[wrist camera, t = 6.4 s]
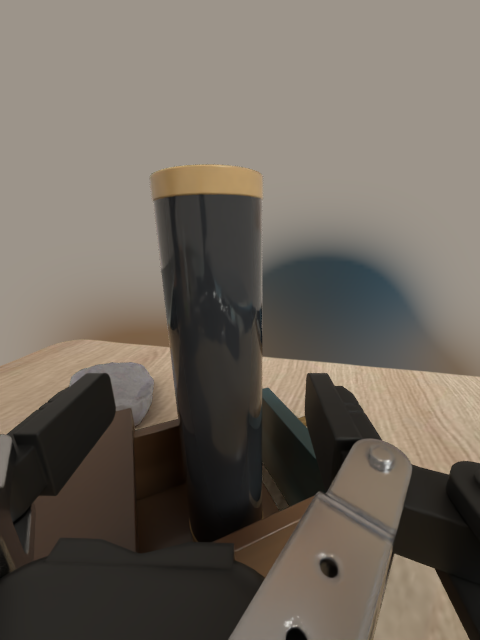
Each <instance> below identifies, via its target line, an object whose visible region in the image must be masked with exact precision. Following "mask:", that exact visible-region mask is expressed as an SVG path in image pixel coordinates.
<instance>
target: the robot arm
mask: <svg viewBox="0 0 480 640" xmlns="http://www.w3.org/2000/svg"><path fill="white" fill-rule="evenodd" d="M115 413H116V404H115V399H114V394H113V389H112V384H111V379H110V376H109V375H108V374H107V373H86V374H85V375H84V376H82V377H81V378H80V379H79V380H77V381H76V382H75V383H74V384H73V385H71V386H70V387H68V388H66V389H64V390H62V391H60V392H58V393H57V394H56V395H55V396H54V397H52V398H51V399H50V400H49V401H48V403H45V404H44V405H42V406H41V407H40V408H39V410H36V411H35V412H34V413H32V414H31V415H30V416H29V417H28V418H26V419H25V420H24V421H23V422H21V423H20V424H19V425H18V426H16V427H15V428H14V429H13V430H11V431H10V432H9V433H8V434H6V435H4V434H0V640H373V638H374V634H375V630H376V625H377V621H378V617H379V613H380V609H381V605H382V601H383V597H384V593H385V589H386V585H387V581H388V577H389V573H390V569H391V565H392V561H393V557H394V553H395V554H397V555H400V556H403V557H405V558H408V559H411V560H414V561H416V562H419V563H422V564H424V565H427V566H430V567H432V568H435V570H436V572H437V574H438V576H439V578H440V580H441V582H442V584H443V586H444V588H445V590H446V592H447V594H448V596H449V599H450V601H451V603H452V605H453V607H454V609H455V611H456V613H457V615H458V617H459V619H460V621H461V623H462V625H463V627H464V629H465V631H466V633H467V635H468V637H469V639H470V640H480V463H476V462H469V461H461V462H457V463H455V464H454V465H453V466H452V467H451V470H450V474H449V475H448V474H444V473H440V472H436V471H432V470H428V469H424V468H421V467H418V466H415V465H412V464H411V463H410V461H409V459H408V457H407V456H406V455H405V454H404V453H403V452H402V451H401V450H399V449H398V448H397V447H395V446H393V445H391V444H389V443H387V442H384V441H382V439H381V438H380V436H379V435H378V433H377V431H376V430H375V428H374V427H373V425H372V423H371V422H370V420H369V419H368V417H367V416H366V414H365V413H364V411H363V409H362V408H361V406H360V405H359V403H358V401H357V400H356V398H355V397H354V395H353V394H352V393H351V392H350V391H348V390H347V389H346V388H344V387H343V386H334V384H333V382H332V381H331V379H330V377H329V375H328V374H327V373H308V374H307V378H306V395H305V419H306V425H307V428H308V432H309V435H310V439H311V442H312V446H313V449H314V453H315V456H316V460H317V463H318V467H319V470H320V474H321V477H322V481H323V484H324V488H325V491H326V494H325V493H324V492H322V491H319V492H318V493H317V494H316V495H315V496H314V498H313V499H312V501H311V503H310V504H309V506H308V508H307V509H306V511H305V513H304V514H303V516H302V518H301V519H300V521H299V523H298V524H297V526H296V528H295V529H294V531H293V533H292V534H291V536H290V538H289V539H288V541H287V543H286V544H285V546H284V548H283V549H282V551H281V553H280V554H279V556H278V558H277V559H276V561H275V563H274V564H273V566H272V568H271V569H270V571H269V573H268V574H267V576H266V578H265V577H264V576H262V575H261V574H260V573H258V572H257V571H256V570H254V569H253V568H251V567H249V566H247V565H245V564H243V563H241V562H238V561H236V560H235V552H234V543H215V542H187V543H183V544H179V545H175V546H171V547H167V548H163V549H159V550H155V551H151V552H147V553H137V552H134V551H131V550H129V549H126V548H124V547H121V546H119V545H116V544H114V543H111V542H108V541H106V540H103V539H90V538H59V540H58V541H57V543H56V544H55V546H54V548H53V549H52V551H51V552H50V554H49V555H48V556H46V557H43V558H40V559H38V560H35V561H34V541H35V519H36V508H35V505H34V501H35V500H36V498H37V497H38V496H57V495H58V493H59V492H60V491H61V489H62V488H63V487H64V485H65V484H66V483H67V481H68V480H69V479H70V477H71V476H72V475H73V473H74V472H75V471H76V469H77V468H78V467H79V465H80V464H81V463H82V461H83V460H84V459H85V457H86V456H87V455H88V453H89V452H90V451H91V449H92V448H93V447H94V445H95V444H96V443H97V442H98V440H99V439H100V438H101V436H102V435H103V434H104V432H105V431H106V430H107V428H108V427H109V426H110V424H111V423H112V421H113V420H114V417H115Z"/></svg>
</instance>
